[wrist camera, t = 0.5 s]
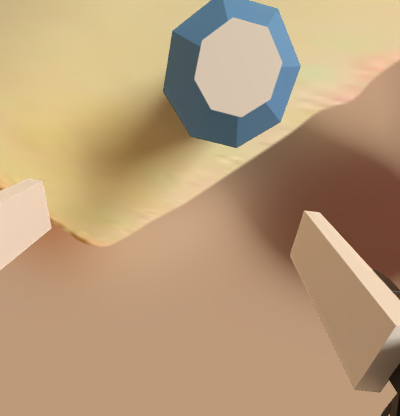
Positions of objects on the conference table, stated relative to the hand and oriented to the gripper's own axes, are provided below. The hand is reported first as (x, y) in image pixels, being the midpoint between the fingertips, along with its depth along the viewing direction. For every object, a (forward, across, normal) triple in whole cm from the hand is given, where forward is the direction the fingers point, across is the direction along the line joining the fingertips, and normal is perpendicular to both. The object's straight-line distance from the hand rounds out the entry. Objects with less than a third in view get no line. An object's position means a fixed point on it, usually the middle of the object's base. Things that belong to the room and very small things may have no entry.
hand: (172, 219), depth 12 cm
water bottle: (+27, +2, +7) cm, 28 cm away
